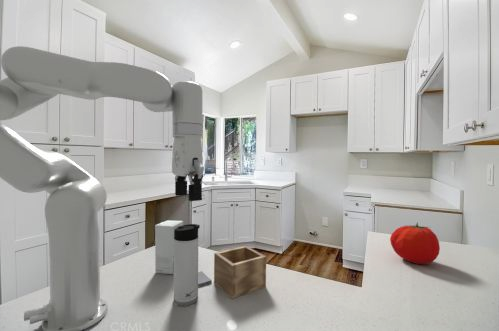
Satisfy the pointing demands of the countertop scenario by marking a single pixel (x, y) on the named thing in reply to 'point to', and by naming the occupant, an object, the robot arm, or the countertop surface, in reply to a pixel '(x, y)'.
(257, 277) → the open wooden box
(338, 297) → the countertop surface
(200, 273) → the slate coaster
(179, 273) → the travel mug
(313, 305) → the countertop surface
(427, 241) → the tomato
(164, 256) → the skincare box
